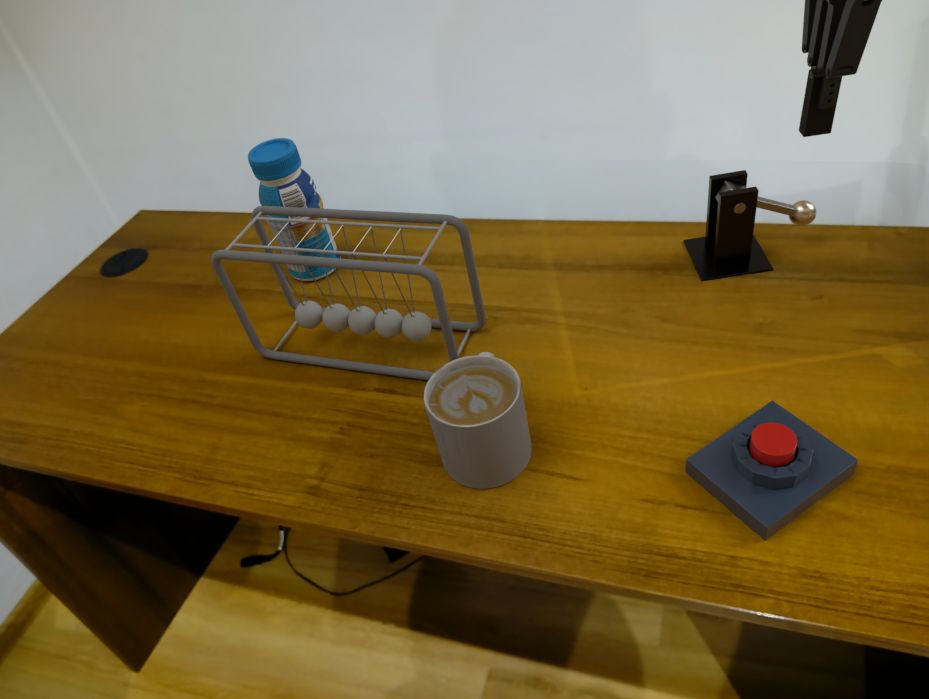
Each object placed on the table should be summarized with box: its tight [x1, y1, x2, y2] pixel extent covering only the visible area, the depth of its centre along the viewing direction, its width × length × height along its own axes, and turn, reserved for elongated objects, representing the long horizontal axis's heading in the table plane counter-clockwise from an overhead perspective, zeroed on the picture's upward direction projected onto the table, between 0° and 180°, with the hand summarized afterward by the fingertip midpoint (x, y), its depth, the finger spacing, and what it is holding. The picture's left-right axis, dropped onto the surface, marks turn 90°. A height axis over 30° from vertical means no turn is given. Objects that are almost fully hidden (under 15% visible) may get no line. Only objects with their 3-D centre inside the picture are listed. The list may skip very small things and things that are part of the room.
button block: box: [684, 400, 859, 542], centre depth 69 cm, size 12×10×4 cm
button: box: [750, 423, 797, 467], centre depth 68 cm, size 4×4×2 cm
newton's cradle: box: [210, 205, 487, 382], centre depth 89 cm, size 30×10×18 cm, turn 71°
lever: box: [715, 181, 818, 227], centre depth 89 cm, size 13×3×3 cm, turn 92°
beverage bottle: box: [247, 137, 342, 282], centre depth 104 cm, size 8×8×20 cm
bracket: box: [683, 169, 774, 282], centre depth 91 cm, size 9×9×12 cm
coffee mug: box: [423, 351, 533, 490], centre depth 76 cm, size 13×10×10 cm
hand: (814, 131), depth 75 cm, fingers closed
